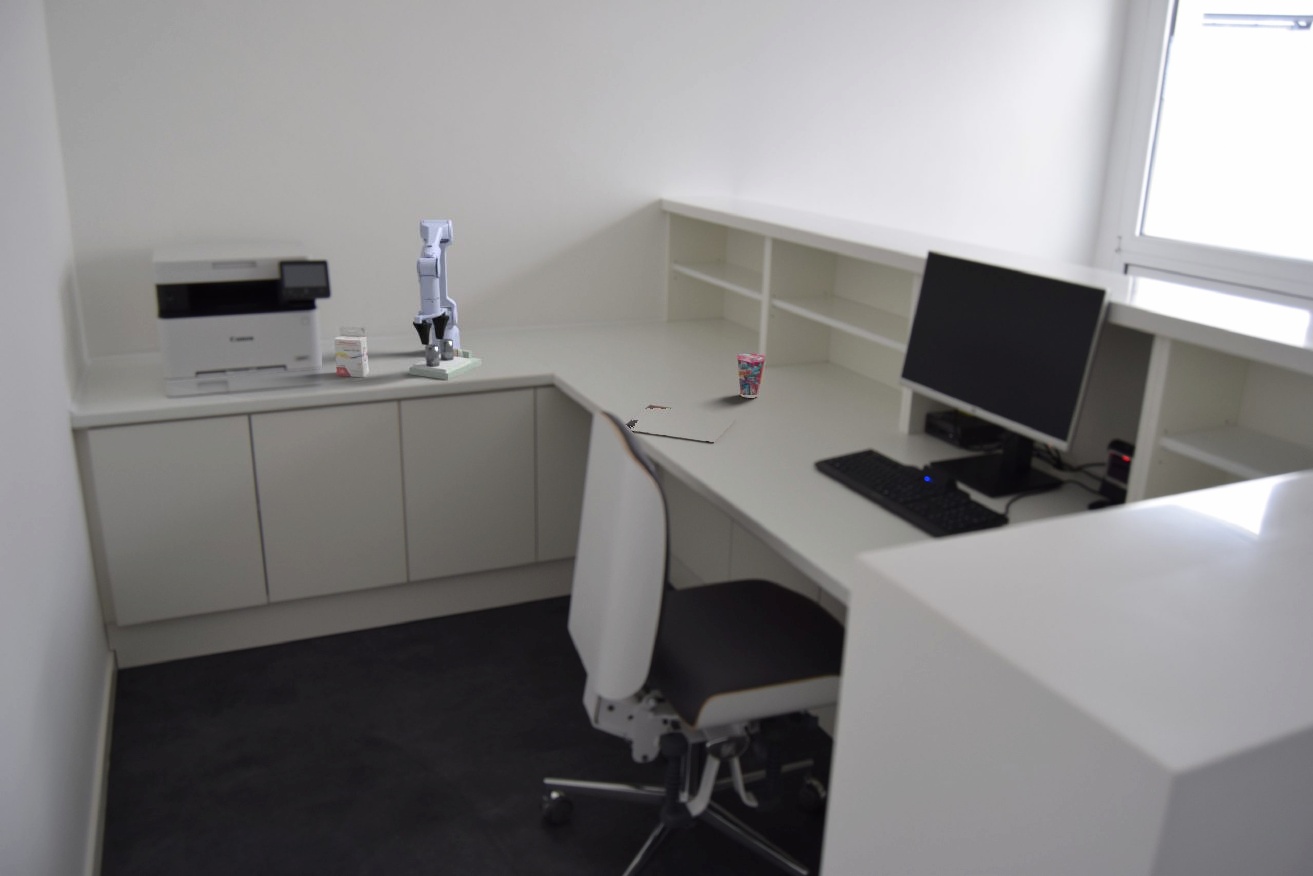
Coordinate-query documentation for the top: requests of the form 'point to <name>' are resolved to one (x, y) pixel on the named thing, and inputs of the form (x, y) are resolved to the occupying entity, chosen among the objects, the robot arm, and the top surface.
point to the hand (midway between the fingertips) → (432, 341)
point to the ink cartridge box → (351, 352)
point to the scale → (447, 366)
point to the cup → (750, 372)
